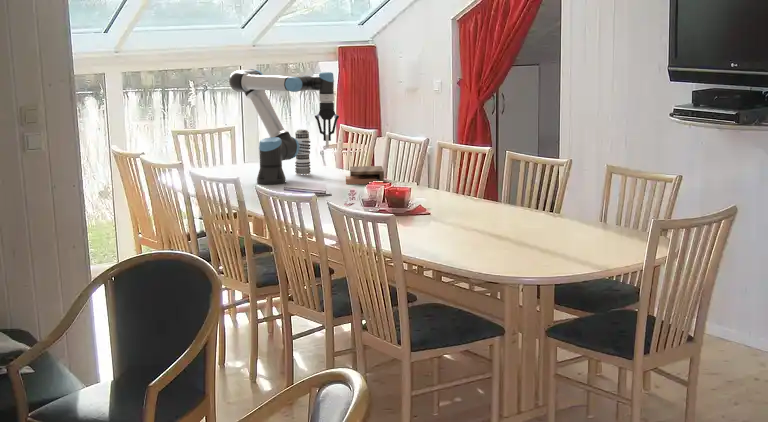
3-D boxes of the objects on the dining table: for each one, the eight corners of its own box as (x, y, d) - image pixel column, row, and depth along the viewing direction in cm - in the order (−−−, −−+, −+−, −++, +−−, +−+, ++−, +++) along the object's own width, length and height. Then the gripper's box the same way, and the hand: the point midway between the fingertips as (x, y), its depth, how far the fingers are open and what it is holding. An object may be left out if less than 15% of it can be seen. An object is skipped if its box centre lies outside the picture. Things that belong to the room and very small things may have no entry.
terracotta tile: (346, 185, 499) (346, 179, 499) (345, 181, 510) (345, 176, 509) (376, 184, 500) (376, 178, 499) (375, 181, 511) (375, 175, 510)
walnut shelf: (351, 185, 496) (351, 171, 494) (350, 179, 515) (350, 166, 514) (383, 184, 496) (383, 171, 495) (381, 178, 516) (381, 166, 515)
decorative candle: (312, 173, 539) (311, 129, 535) (309, 175, 530) (308, 130, 526) (296, 173, 540) (295, 129, 536) (293, 175, 531) (292, 130, 527)
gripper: (314, 102, 493) (314, 148, 497) (339, 102, 494) (339, 147, 498) (314, 101, 500) (314, 146, 505) (339, 101, 501) (339, 146, 505)
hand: (327, 147), depth 501 cm, fingers closed
